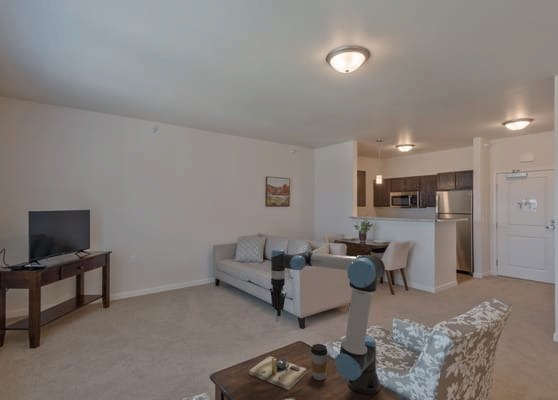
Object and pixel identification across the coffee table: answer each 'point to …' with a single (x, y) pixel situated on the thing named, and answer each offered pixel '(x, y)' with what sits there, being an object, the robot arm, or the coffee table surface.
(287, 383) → the lever board
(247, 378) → the coffee table surface
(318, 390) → the coffee table surface
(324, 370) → the coffee cup
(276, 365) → the grey round handled piece
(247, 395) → the coffee table surface
